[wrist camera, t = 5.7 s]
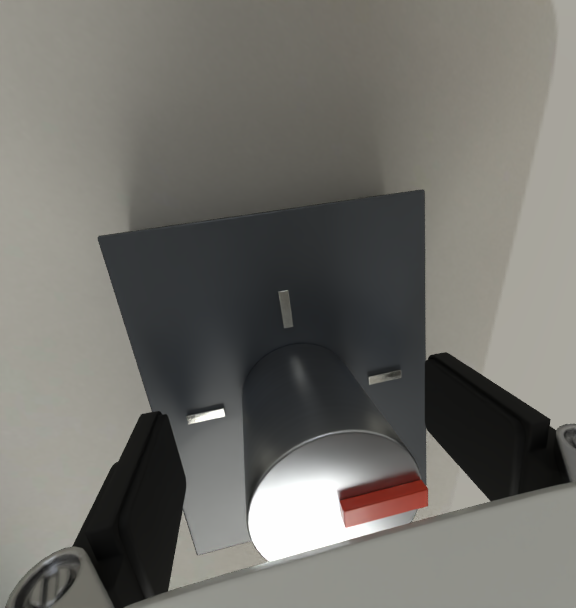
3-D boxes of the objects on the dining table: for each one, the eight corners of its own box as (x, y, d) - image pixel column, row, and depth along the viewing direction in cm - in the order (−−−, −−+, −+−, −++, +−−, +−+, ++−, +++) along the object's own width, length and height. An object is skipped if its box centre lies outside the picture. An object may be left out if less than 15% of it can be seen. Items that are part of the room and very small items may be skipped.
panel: (127, 231, 12) (93, 236, 9) (385, 194, 14) (428, 188, 11) (203, 497, 16) (196, 560, 13) (396, 450, 18) (429, 497, 15)
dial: (252, 452, 13) (263, 611, 8) (232, 355, 11) (229, 467, 6) (355, 428, 13) (430, 562, 8) (347, 333, 12) (430, 420, 7)
